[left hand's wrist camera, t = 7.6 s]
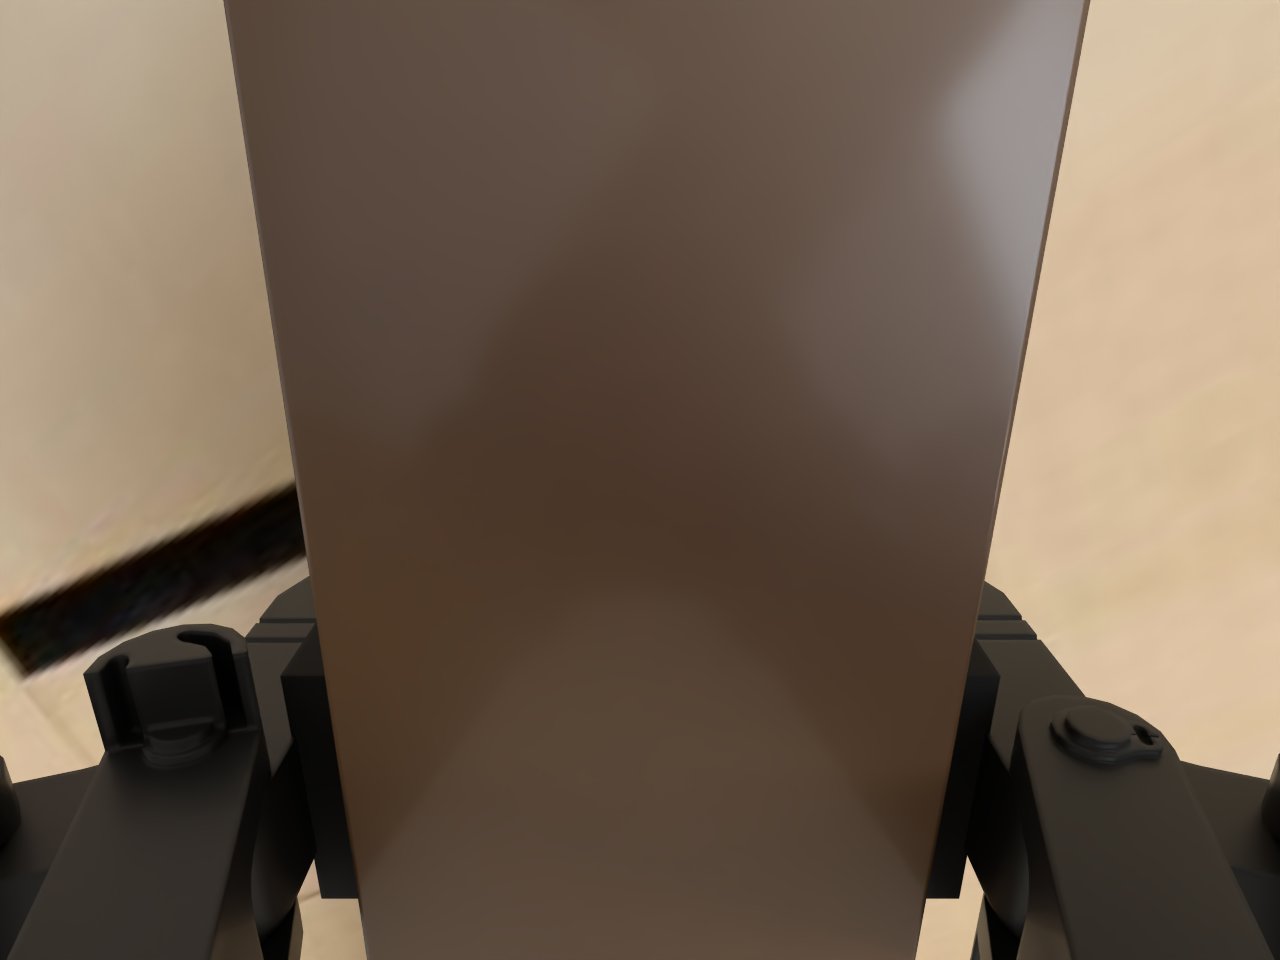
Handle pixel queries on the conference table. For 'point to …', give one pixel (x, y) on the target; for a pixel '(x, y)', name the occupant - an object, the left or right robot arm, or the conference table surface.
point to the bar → (649, 443)
